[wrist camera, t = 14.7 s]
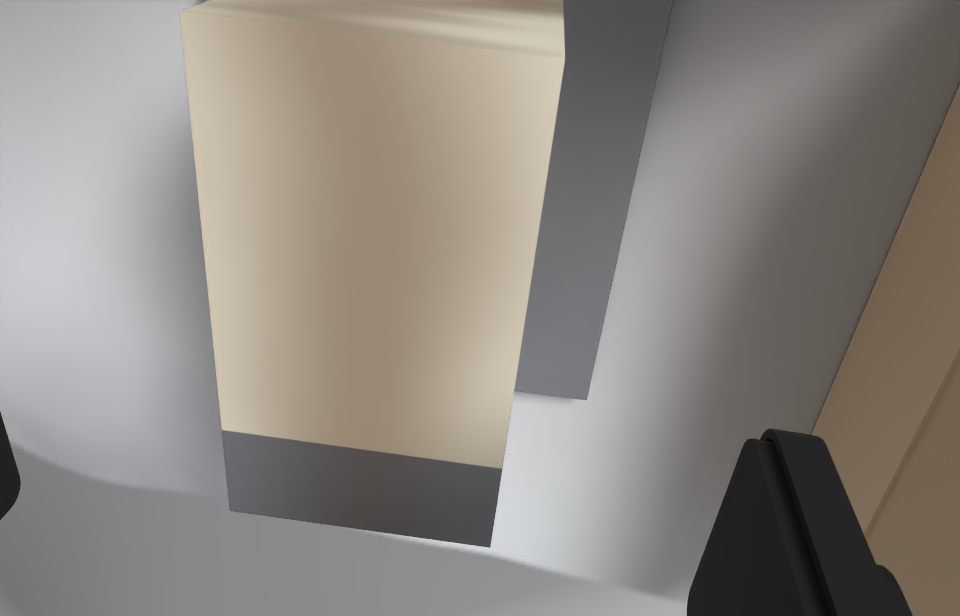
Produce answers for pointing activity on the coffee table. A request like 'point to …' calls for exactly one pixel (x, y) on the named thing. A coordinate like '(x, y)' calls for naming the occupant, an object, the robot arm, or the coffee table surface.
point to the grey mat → (588, 186)
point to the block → (370, 247)
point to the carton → (909, 394)
